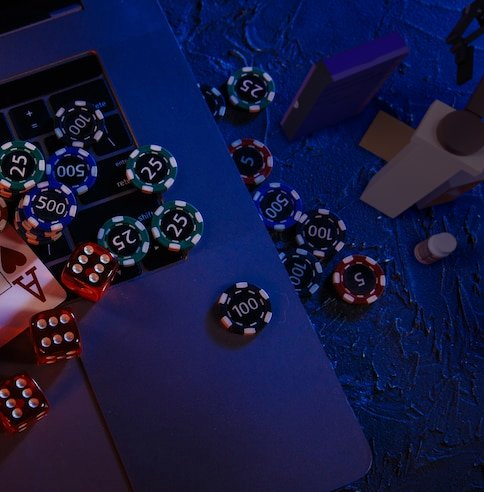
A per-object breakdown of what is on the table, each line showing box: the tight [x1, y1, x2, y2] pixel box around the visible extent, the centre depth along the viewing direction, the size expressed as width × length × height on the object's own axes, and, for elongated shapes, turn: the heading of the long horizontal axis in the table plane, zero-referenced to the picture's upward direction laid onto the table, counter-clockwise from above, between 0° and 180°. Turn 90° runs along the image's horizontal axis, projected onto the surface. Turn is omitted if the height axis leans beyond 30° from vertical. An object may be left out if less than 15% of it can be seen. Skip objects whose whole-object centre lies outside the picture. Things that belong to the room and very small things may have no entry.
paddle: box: [436, 73, 484, 156], centre depth 102 cm, size 8×18×2 cm, turn 146°
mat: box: [358, 109, 416, 163], centre depth 134 cm, size 12×10×1 cm
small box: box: [415, 170, 484, 210], centre depth 125 cm, size 8×6×13 cm
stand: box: [359, 99, 484, 219], centre depth 117 cm, size 12×8×30 cm, turn 56°
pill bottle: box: [414, 232, 458, 265], centre depth 124 cm, size 5×5×8 cm
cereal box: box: [279, 29, 411, 142], centre depth 125 cm, size 17×5×24 cm, turn 113°
